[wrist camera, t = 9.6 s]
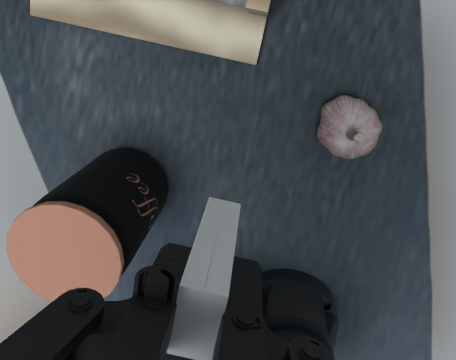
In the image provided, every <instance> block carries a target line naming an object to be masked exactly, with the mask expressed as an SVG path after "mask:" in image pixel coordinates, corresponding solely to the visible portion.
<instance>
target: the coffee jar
mask: <svg viewBox="0 0 456 360" xmlns="http://www.w3.org/2000/svg"><path fill="white" fill-rule="evenodd" d="M166 197H167V186H166V180H165V178H164V176H163V174H162V171H161V169H160V168H159V167H158V166H157V165H156V163H155V162H154V161H153V160H152V159H150V158H149V157H147V156H146V155H144V154H143V153H141V152H137V151H134V150H130V149H114V150H111V151H108V152H105V153H103V154H102V155H100V156H99V157H98V158H96V159H95V160H93V161H92V162H91V163H89V164H88V165H87V166H85V167H84V168H82V169H81V170H80V171H78V172H77V173H76V174H74V175H73V176H71V177H70V178H69V179H67V180H66V181H65V182H63V183H62V184H60V185H59V186H58V187H56V188H55V189H54V190H52V191H51V192H49V193H48V194H47V195H45V196H44V197H43V198H41V199H40V200H39V201H38V202H37V203H36V204H35V205H33V206H32V207H30V208H28V209H26V210H25V211H24V212H23V213H22V214H21V215H19V216H18V217H17V218H16V219H15V220H14V221H13V223H12V225H11V228H10V230H9V232H8V234H7V249H6V250H7V253H8V257H9V260H10V263H11V266H12V267H13V269H14V271H15V272H16V274H17V275H18V277H19V278H20V280H21V281H22V282H23V283H25V284H26V285H27V286H28V287H29V288H30V289H31V290H32V291H34V292H35V293H37V294H39V295H40V296H42V297H44V298H46V299H48V300H49V301H52V302H53V301H54V300H55V299H56V298H58V297H59V296H60V295H61V294H63V293H65V292H67V291H68V290H72V289H76V288H90V289H94V290H96V291H98V292H99V293H101V295H102V296H103V298H105V297H106V296H108V295H109V294H111V293H112V291H113V290H114V288H115V287H116V285H117V284H118V282H119V281H120V278H121V276H122V275H123V273H124V272H125V270H126V269H127V267H128V266H129V264H130V262H131V261H132V259H133V257H134V256H135V254H136V252H137V250H138V249H139V247H140V245H141V244H142V242H143V240H144V239H145V237H146V235H147V233H148V232H149V230H150V228H151V227H152V225H153V223H154V222H155V220H156V218H157V217H158V215H159V213H160V211H161V210H162V208H163V206H164V205H165V201H166Z"/></svg>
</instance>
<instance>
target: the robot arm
mask: <svg viewBox="0 0 456 360" xmlns="http://www.w3.org/2000/svg"><path fill="white" fill-rule="evenodd" d="M240 207H241V204H239V203H234V202H230V201H225V200H221V199H217V198H212V197H209V199H208V202H207V205H206V208H205V211H204V214H203V217H202V220H201V223H200V226H199V229H198V232H197V235H196V238H195V241H194V244H193V247H192V248H190V247H186V246H181V245H177V244H172V243H168V244H167V245H165V246H164V247H163V248H161V249H160V251H159V254H158V256H157V258H156V260H155V262H154V264H153V266H148V267H145V268H143V269H141V270H139V271H138V272H137V274H136V276H135V283H134V291H133V297H131V298H129V299H126V300H122V301H104V298H103V296H102V295H101V293H99V292H98V291H96V290H94V289H90V288H76V289H72V290H68V291H67V292H65V293H63V294H61V295H60V296H59V297H58V298H56V299H55V300H54V301H53V302H51V303H50V304H49V305H48V306H47V307H45V308H44V309H43V310H42V311H40V312H39V313H38V314H37V315H35V316H34V317H33V318H32V319H30V320H29V321H28V322H26V323H25V324H24V325H23V326H22V327H20V328H19V329H18V330H17V331H15V332H14V333H13V334H12V335H10V336H9V337H8V338H7V339H5V340H4V341H3V342H2V343H0V360H335V359H334V355H333V350H334V345H335V340H336V334H337V329H338V314H337V310H336V306H335V302H334V299H333V297H332V295H331V293H330V292H329V290H328V289H327V288H326V287H325V286H324V285H323V284H322V283H321V282H320V281H318V280H317V279H315V278H314V277H312V276H310V275H308V274H305V273H302V272H298V271H294V270H273V271H268V272H265V273H262V269H261V268H260V266H259V264H258V263H257V262H256V261H252V260H247V259H243V258H238V257H234V252H235V244H236V237H237V229H238V222H239V214H240Z"/></svg>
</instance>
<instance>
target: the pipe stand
mask: <svg viewBox="0 0 456 360" xmlns="http://www.w3.org/2000/svg"><path fill="white" fill-rule="evenodd" d="M270 1H271V0H99V1H98V0H30V15H33V16H37V17H42V18H46V19H51V20H55V21H60V22H64V23H69V24H73V25H78V26H82V27H87V28H91V29H96V30H100V31H105V32H109V33H114V34H118V35H123V36H127V37H132V38H136V39H141V40H145V41H150V42H154V43H159V44H163V45H168V46H172V47H177V48H181V49H186V50H190V51H195V52H199V53H204V54H208V55H213V56H217V57H222V58H227V59H231V60H236V61H240V62H245V63H249V64H254V65H256V64H257V59H258V55H259V51H260V46H261V42H262V37H263V33H264V28H265V24H266V19H267V15H268V10H269V6H270Z"/></svg>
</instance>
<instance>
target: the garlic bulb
mask: <svg viewBox="0 0 456 360" xmlns="http://www.w3.org/2000/svg"><path fill="white" fill-rule="evenodd" d="M381 132H382V123H381V121H380V120H379V118H378V114H377V112H376V111H375V110H374V109H373V108H371V107H369V106H368V104H367V103H366V102H365V101H364V100H362V99H359V98H352V97H350V96H348V95H341V96H338V97H336V98H335V99H333V100H332V101H330V102H327V103H325V104H324V105H323V107H322V109H321V121H320V125H319V127H318V130H317V137H318V140H319V142H320V143H321V144H322V145H323V146H325V147H326V148H328V150H329V151H330V152H331V153H332V154H333V155H334V156H337V157H343V158H346V159H354V158H357V157H359V156H364V155H367V154H368V153H369V152H371V150H372V149H374V147H375V146H376V145H377V142H378V138H379V135H380V133H381Z"/></svg>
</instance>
